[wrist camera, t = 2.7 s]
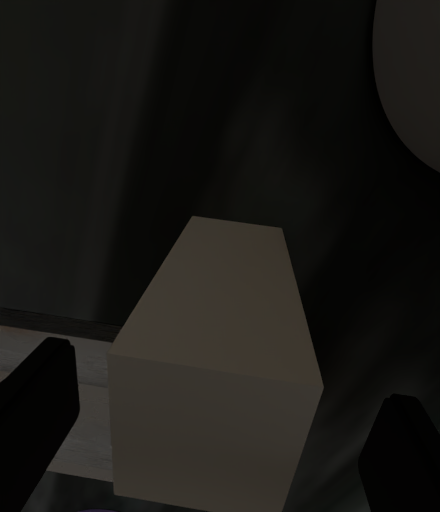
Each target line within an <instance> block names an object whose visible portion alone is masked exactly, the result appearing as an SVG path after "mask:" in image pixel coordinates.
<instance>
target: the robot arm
mask: <svg viewBox="0 0 440 512" xmlns="http://www.w3.org/2000/svg"><path fill="white" fill-rule="evenodd" d="M79 412H80V401H79V390H78V378H77V367H76V356H75V347H74V346H73V345H71V344H70V341H69V340H68V339H62V338H56V337H47V338H46V339H44V340H43V341H42V342H41V343H40V344H39V345H38V346H37V347H36V348H35V349H34V350H33V351H32V352H31V353H30V354H29V355H28V356H27V357H26V358H25V359H24V360H23V361H22V362H21V363H20V364H19V365H18V366H17V367H16V368H15V369H14V370H13V371H12V372H11V373H10V374H9V375H8V376H7V377H6V378H5V379H4V380H2V381H1V382H0V512H21V510H22V508H23V507H24V505H25V504H26V502H27V500H28V499H29V497H30V495H31V494H32V492H33V491H34V489H35V487H36V486H37V484H38V482H39V481H40V479H41V478H42V476H43V474H44V473H45V471H46V469H47V468H48V466H49V464H50V463H51V461H52V460H53V458H54V456H55V455H56V453H57V451H58V450H59V448H60V447H61V445H62V443H63V442H64V440H65V438H66V437H67V435H68V434H69V432H70V430H71V429H72V427H73V425H74V424H75V422H76V420H77V418H78V416H79ZM358 468H359V473H360V476H361V480H362V483H363V486H364V490H365V493H366V496H367V500H368V503H369V506H370V510H371V512H440V434H439V433H438V431H437V429H436V428H435V426H434V424H433V423H432V421H431V419H430V418H429V416H428V414H427V413H426V411H425V409H424V408H423V406H422V404H421V403H420V401H419V400H418V399H417V398H416V397H412V396H406V395H400V394H392V395H391V396H390V398H385V399H384V401H383V403H382V406H381V408H380V410H379V413H378V415H377V417H376V420H375V422H374V424H373V427H372V429H371V431H370V433H369V436H368V438H367V440H366V443H365V445H364V447H363V450H362V452H361V454H360V457H359V460H358Z"/></svg>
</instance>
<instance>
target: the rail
mask: <svg viewBox="0 0 440 512" xmlns="http://www.w3.org/2000/svg"><path fill="white" fill-rule="evenodd" d="M121 329H122V326H116V325H109V324H103V323H96V322H90V321H83V320H77V319H70V318H64V317H57V316H51V315H44V314H38V313H31V312H25V311H18V310H11V309H5V308H0V382H1V381H2V380H4V379H5V378H6V377H7V376H8V375H9V374H10V373H11V372H12V371H13V370H14V369H15V368H16V367H17V366H18V365H19V364H20V363H21V362H22V361H23V360H24V359H25V358H26V357H27V356H28V355H29V354H30V353H31V352H32V351H33V350H34V349H35V348H36V347H37V346H38V345H39V344H40V343H41V342H42V341H43V340H44V339H46V338H47V337H56V338H62V339H68V340H69V341H70V344H71V345H73V346H74V347H75V356H76V367H77V378H78V390H79V401H80V412H79V416H78V418H77V420H76V422H75V424H74V425H73V427H72V429H71V430H70V432H69V434H68V435H67V437H66V438H65V440H64V442H63V443H62V445H61V447H60V448H59V450H58V451H57V453H56V455H55V456H54V458H53V460H52V461H51V463H50V464H49V466H48V468H47V469H46V470H47V471H53V472H59V473H64V474H70V475H76V476H81V477H87V478H93V479H98V480H104V481H110V482H113V466H112V447H111V429H110V410H109V391H108V373H107V354H106V353H107V351H108V350H109V348H110V347H111V345H112V343H113V342H114V340H115V339H116V337H117V335H118V334H119V332H120V331H121Z"/></svg>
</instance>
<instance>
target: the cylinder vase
mask: <svg viewBox="0 0 440 512" xmlns="http://www.w3.org/2000/svg"><path fill="white" fill-rule="evenodd" d="M372 52H373V67H374V75H375V81H376V85H377V90H378V94H379V97H380V100H381V103H382V106H383V109H384V111H385V113H386V116H387V118H388V120H389V122H390V124H391V125H392V127H393V129H394V130H395V132H396V134H397V135H398V136H399V138H400V139H401V140H402V142H403V143H404V144H405V145H406V146H407V148H408V149H409V150H410V151H411V152H412V153H413V154H414V155H415V156H417V157H418V158H419V159H420V160H421V161H423V162H424V163H425V164H427V165H428V166H430V167H431V168H433V169H435V170H436V171H438V172H440V0H377V2H376V8H375V15H374V23H373V39H372Z"/></svg>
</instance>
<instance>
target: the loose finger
mask: <svg viewBox="0 0 440 512" xmlns="http://www.w3.org/2000/svg"><path fill="white" fill-rule="evenodd" d="M106 354H107V373H108V391H109V410H110V429H111V447H112V466H113V484H114V495H120V496H126V497H131V498H137V499H142V500H148V501H154V502H159V503H165V504H171V505H176V506H182V507H187V508H193V509H199V510H204V511H210V512H282V509H283V507H284V504H285V501H286V498H287V495H288V492H289V489H290V486H291V483H292V480H293V477H294V474H295V471H296V468H297V465H298V462H299V459H300V456H301V453H302V451H303V448H304V445H305V442H306V439H307V436H308V433H309V430H310V427H311V424H312V421H313V418H314V415H315V412H316V409H317V406H318V403H319V400H320V398H321V395H322V392H323V389H324V386H323V382H322V378H321V374H320V370H319V367H318V363H317V359H316V355H315V352H314V348H313V344H312V340H311V336H310V333H309V329H308V325H307V321H306V317H305V314H304V310H303V306H302V302H301V299H300V295H299V291H298V287H297V283H296V280H295V276H294V272H293V268H292V264H291V261H290V257H289V253H288V249H287V246H286V242H285V238H284V234H283V230H282V228H278V227H270V226H263V225H256V224H248V223H241V222H234V221H226V220H219V219H212V218H204V217H197V216H192V217H191V219H190V220H189V222H188V224H187V225H186V227H185V228H184V230H183V232H182V233H181V235H180V236H179V238H178V240H177V241H176V243H175V244H174V246H173V248H172V249H171V251H170V252H169V254H168V256H167V257H166V259H165V260H164V262H163V264H162V265H161V267H160V268H159V270H158V272H157V273H156V275H155V276H154V278H153V280H152V281H151V283H150V284H149V286H148V287H147V289H146V291H145V292H144V294H143V295H142V297H141V299H140V300H139V302H138V303H137V305H136V307H135V308H134V310H133V311H132V313H131V315H130V316H129V318H128V319H127V321H126V323H125V324H124V326H123V327H122V329H121V331H120V332H119V334H118V335H117V337H116V339H115V340H114V342H113V343H112V345H111V347H110V348H109V350H108V351H107V353H106Z"/></svg>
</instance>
